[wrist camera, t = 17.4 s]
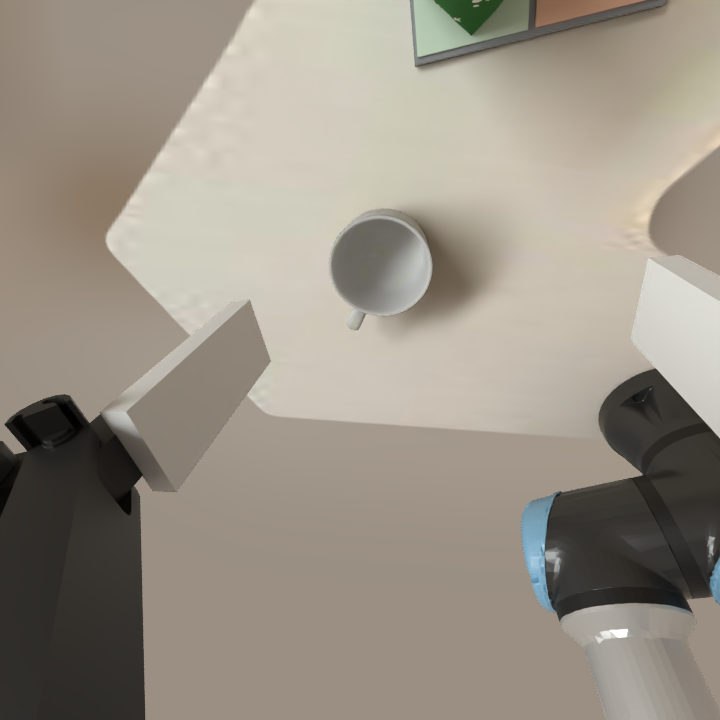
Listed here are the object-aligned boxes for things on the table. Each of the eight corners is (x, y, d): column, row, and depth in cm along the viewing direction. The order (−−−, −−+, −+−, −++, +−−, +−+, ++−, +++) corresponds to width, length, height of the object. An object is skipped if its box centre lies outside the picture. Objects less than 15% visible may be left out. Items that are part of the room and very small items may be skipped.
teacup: (376, 181, 41) (365, 191, 34) (452, 240, 42) (455, 260, 36) (316, 277, 48) (297, 301, 41) (383, 324, 50) (374, 354, 43)
